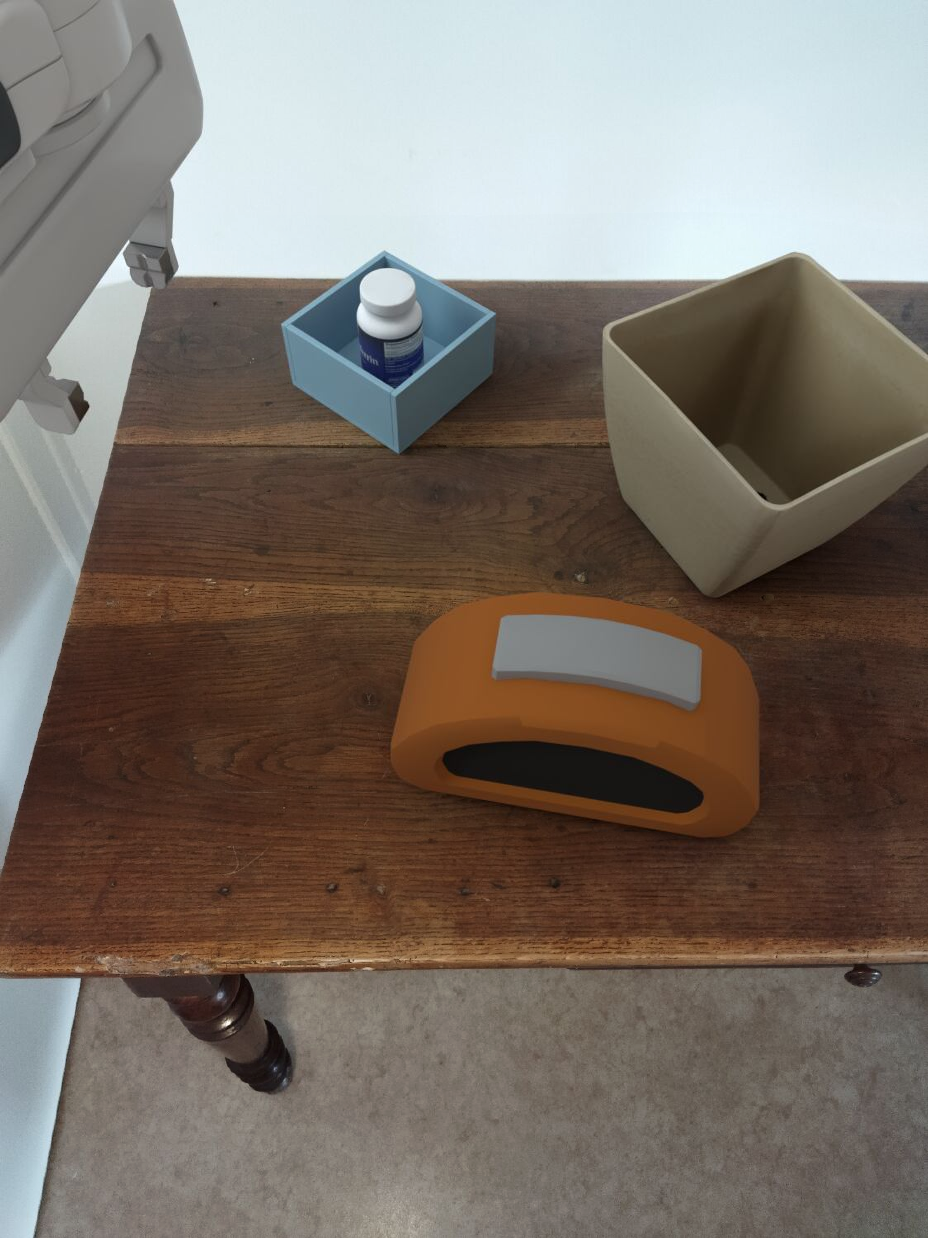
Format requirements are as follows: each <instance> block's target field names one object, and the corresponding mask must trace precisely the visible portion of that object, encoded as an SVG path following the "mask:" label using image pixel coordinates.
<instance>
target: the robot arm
mask: <svg viewBox="0 0 928 1238" xmlns="http://www.w3.org/2000/svg"><path fill="white" fill-rule="evenodd" d="M179 15H180V14H179V13H178V10H177V7H176V4H175V2H174V0H0V423H2V422H3V421H4V420H5V418H6V417H7V416H8V414H9V413H10V411H11V410H12V409H13V406H15V404H16V402H17V401H22V402H23V403H24V405H25V407H26V409H27V410H28V412H29V414H30V416H31V418H32V420H33V421H34V423H35V424H36V425H38V427H39V428H41V429H43V430H45V431H48V432H52V433H57V434H63V435H67V436H72V435H74V434H76V432H77V430H78V428H79V426H80V424H81V422H82V421H83V419H84V417H85V416H86V415H87V413H88V411H89V409H90V407H91V406H90V403H89V400H86V399H85V392H84V390H83V388H82V386H81V384H80V381H78V380H73V379H68V378H60V379H56V378H55V376H53V375H50V374H51V372H52V365H51V364H50V361H49V359H48V356H49V355H50V353H51V352H52V350H53V349H54V348H55V346H56V345H57V343H58V342H59V341H60V339H61V337H62V336H63V335H64V334H65V332H66V331H67V329H68V327H69V326H70V325H71V323H72V322H73V320H74V319H75V318H76V316H77V315H78V313H79V312H80V310H81V309H82V308H83V306H84V304H85V303H86V302H87V300H88V299H89V297H90V296H91V295H92V293H93V292H94V290H95V289H96V287H97V286H98V284H99V283H100V282H101V280H102V279H103V277H104V276H105V275H106V273H107V272H108V270H109V269H110V268H111V266H112V264H113V263H114V262H115V260H116V259H117V257H119V255H120V253H121V251H122V256H123V259H124V262H125V264H126V266H127V267H128V268H129V275H130V278H131V280H132V281H133V282H134V283H135V284H136V285H137V286H139V287H142V288H145V289H147V288H154V290H157V291H163V290H165V289H166V288H167V287H168V285H169V284H170V282H171V281H172V280H173V278H174V277H175V275H176V274H177V272H178V271H179V267H180V265H179V262H178V259H177V255H176V252H175V249H174V244H173V242H172V239H173V229H174V206H175V205H174V204H175V191H174V188H173V184H172V179H173V177H174V176H175V174H176V173H177V171H178V169H179V168H180V167H181V165H182V164H183V163H184V162H185V159H186V158H188V156H189V154H190V153H191V152H192V151H193V148H194V147H195V145H196V144H197V143H198V141H199V140H200V138H201V136H202V133H203V127H204V98H203V93H202V89H201V85H200V81H199V77H198V74H197V71H196V70H197V69H196V67H195V63H194V60H193V57H192V53H191V50H190V47H189V43H188V41H187V37H186V34H185V31H184V28H183V24H182V22H181V19H180V18H181V17H180V16H179ZM127 243H128V244H127ZM126 244H127V245H126ZM125 246H126V247H125ZM124 248H125V249H124ZM123 249H124V250H123Z"/></svg>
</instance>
